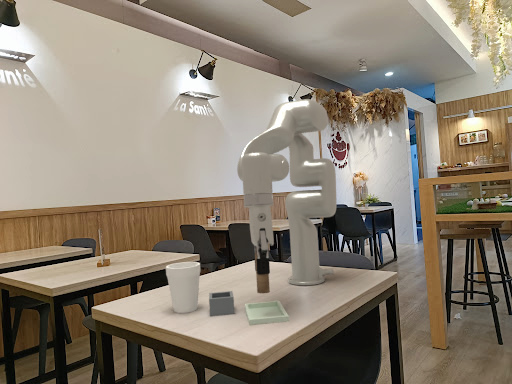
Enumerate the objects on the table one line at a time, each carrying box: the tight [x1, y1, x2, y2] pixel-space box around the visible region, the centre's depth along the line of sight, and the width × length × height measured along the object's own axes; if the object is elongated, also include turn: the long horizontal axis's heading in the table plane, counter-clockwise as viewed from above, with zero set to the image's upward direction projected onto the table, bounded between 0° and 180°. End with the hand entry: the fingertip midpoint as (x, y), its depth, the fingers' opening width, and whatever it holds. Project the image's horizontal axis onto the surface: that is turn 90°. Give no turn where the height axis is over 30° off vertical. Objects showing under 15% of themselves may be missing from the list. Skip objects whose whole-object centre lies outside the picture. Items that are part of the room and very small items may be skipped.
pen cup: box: [208, 290, 235, 317], centre depth 103 cm, size 6×6×5 cm
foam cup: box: [165, 261, 201, 314], centre depth 107 cm, size 10×9×13 cm
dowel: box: [254, 252, 271, 294], centre depth 99 cm, size 3×3×10 cm
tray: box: [244, 300, 290, 326], centre depth 99 cm, size 14×10×2 cm
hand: (262, 271), depth 99 cm, fingers closed on dowel, 3 cm apart
